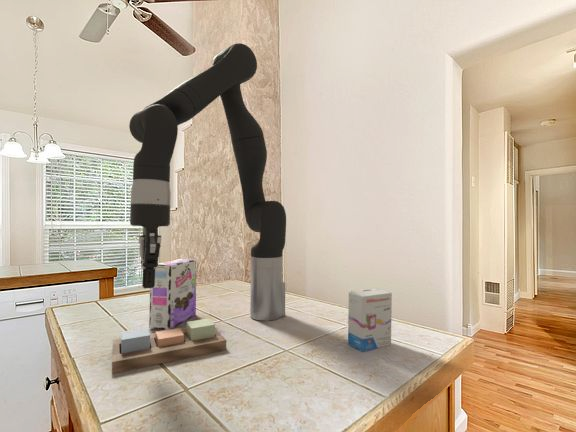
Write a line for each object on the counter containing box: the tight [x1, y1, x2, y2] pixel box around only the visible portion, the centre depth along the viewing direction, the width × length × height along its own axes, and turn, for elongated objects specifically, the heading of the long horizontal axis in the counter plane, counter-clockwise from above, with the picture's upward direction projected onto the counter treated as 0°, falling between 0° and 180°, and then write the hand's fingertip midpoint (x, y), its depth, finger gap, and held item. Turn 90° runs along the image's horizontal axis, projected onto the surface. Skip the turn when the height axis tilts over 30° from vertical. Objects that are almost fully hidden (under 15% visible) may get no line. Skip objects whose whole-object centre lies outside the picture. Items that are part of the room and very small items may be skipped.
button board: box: [111, 327, 227, 374], centre depth 65 cm, size 21×12×2 cm, turn 119°
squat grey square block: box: [120, 327, 151, 354], centre depth 61 cm, size 5×5×3 cm
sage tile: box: [186, 318, 216, 341], centre depth 68 cm, size 5×5×3 cm
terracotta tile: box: [154, 327, 184, 347], centre depth 65 cm, size 5×5×3 cm
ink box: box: [347, 287, 393, 353], centre depth 67 cm, size 9×5×12 cm, turn 117°
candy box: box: [148, 258, 197, 331], centre depth 83 cm, size 14×6×16 cm, turn 168°
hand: (148, 287), depth 63 cm, fingers closed
